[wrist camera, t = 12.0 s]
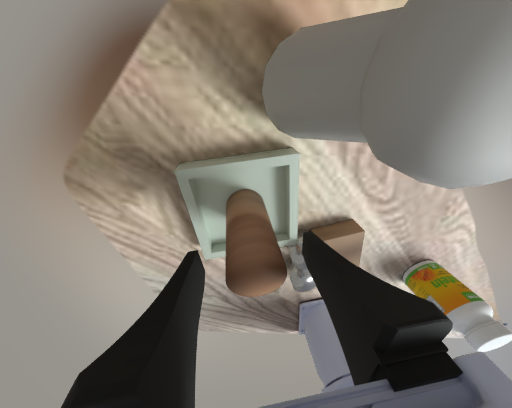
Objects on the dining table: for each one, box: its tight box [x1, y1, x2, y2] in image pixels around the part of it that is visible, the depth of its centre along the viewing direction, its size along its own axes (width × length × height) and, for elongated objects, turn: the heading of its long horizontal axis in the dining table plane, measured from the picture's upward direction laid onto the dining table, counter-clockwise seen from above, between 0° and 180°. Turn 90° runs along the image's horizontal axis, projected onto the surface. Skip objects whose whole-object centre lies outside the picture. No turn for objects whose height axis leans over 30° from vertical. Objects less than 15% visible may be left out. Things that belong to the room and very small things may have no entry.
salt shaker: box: [262, 0, 512, 189], centre depth 8 cm, size 6×6×13 cm
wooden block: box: [311, 219, 365, 267], centre depth 22 cm, size 7×5×2 cm
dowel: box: [226, 189, 287, 297], centre depth 14 cm, size 4×4×8 cm
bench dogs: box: [286, 230, 316, 292], centre depth 21 cm, size 7×3×3 cm, turn 6°
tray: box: [174, 148, 300, 260], centre depth 17 cm, size 10×10×2 cm
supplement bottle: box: [403, 260, 512, 352], centre depth 24 cm, size 5×5×10 cm
